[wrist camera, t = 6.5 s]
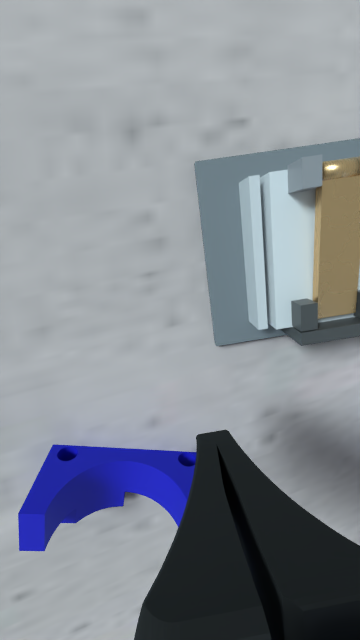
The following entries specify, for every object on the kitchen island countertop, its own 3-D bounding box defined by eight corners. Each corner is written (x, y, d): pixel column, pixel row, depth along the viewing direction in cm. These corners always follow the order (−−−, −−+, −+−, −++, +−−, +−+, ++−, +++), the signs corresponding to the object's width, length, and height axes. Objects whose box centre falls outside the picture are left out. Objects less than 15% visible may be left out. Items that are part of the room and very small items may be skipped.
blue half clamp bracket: (53, 487, 24) (19, 567, 18) (53, 443, 22) (18, 513, 17) (193, 492, 25) (204, 569, 19) (201, 451, 24) (214, 519, 18)
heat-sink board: (411, 133, 18) (495, 99, 13) (396, 313, 21) (458, 333, 17) (194, 164, 17) (206, 139, 13) (214, 343, 21) (230, 371, 16)
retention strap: (358, 157, 15) (372, 153, 14) (347, 308, 18) (357, 313, 17) (314, 164, 15) (325, 160, 14) (310, 314, 18) (319, 320, 17)
